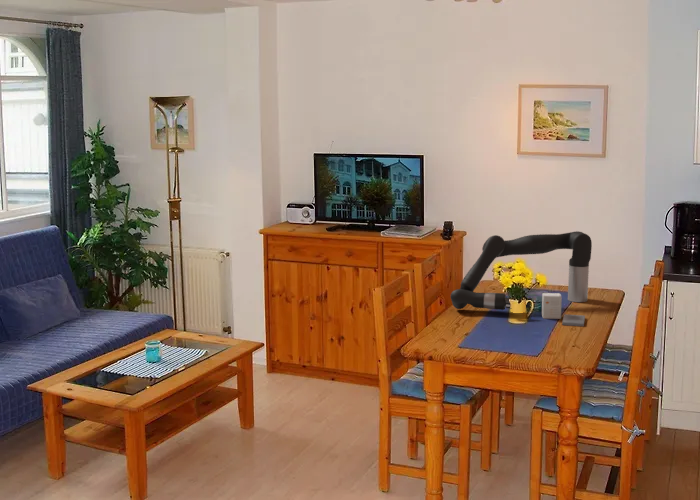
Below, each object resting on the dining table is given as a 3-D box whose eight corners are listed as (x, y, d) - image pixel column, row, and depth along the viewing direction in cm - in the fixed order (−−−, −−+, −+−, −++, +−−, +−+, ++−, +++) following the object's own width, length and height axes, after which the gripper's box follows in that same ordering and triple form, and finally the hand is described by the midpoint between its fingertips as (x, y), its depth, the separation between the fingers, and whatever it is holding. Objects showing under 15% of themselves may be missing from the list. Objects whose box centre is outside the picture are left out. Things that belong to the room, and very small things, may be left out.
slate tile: (564, 316, 387) (564, 314, 387) (584, 318, 384) (584, 315, 384) (562, 325, 374) (562, 322, 374) (583, 326, 371) (583, 323, 371)
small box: (559, 315, 389) (560, 293, 387) (561, 319, 384) (562, 296, 382) (541, 315, 390) (542, 292, 388) (542, 318, 384) (543, 295, 382)
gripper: (492, 296, 386) (529, 298, 381) (496, 289, 399) (532, 291, 394) (492, 312, 387) (529, 315, 382) (496, 305, 400) (532, 307, 396)
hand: (530, 303), depth 388 cm, fingers open, 8 cm apart
